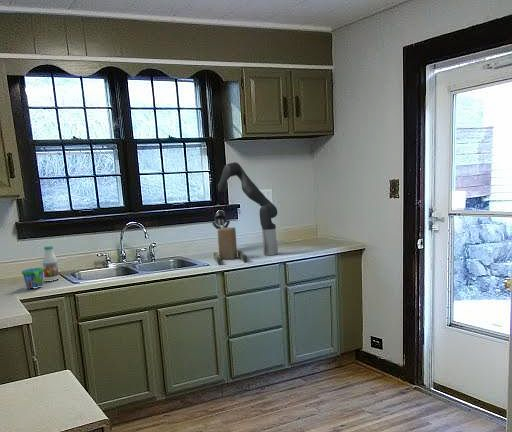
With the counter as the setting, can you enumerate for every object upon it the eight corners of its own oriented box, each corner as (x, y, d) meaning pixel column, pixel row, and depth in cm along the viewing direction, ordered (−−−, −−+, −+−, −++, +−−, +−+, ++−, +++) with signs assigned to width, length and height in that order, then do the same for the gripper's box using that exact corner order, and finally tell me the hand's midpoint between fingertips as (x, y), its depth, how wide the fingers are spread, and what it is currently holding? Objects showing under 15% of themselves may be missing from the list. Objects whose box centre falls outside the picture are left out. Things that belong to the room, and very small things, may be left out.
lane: (240, 255, 312) (240, 250, 312) (247, 262, 287) (247, 256, 287) (214, 258, 309) (213, 252, 309) (218, 265, 284) (218, 258, 283)
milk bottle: (42, 281, 268) (38, 247, 266) (55, 278, 273) (51, 245, 272) (48, 282, 263) (45, 247, 261) (61, 279, 268) (58, 245, 267)
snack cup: (21, 287, 254) (19, 269, 253) (42, 284, 260) (40, 266, 259) (26, 292, 241) (24, 273, 240) (48, 288, 247) (46, 269, 246)
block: (233, 259, 300) (231, 228, 298) (219, 260, 302) (216, 229, 300) (237, 256, 310) (235, 227, 308) (223, 257, 312) (221, 227, 310)
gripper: (210, 211, 333) (213, 229, 322) (228, 209, 335) (232, 228, 324) (209, 218, 338) (212, 236, 327) (228, 216, 341) (231, 235, 330)
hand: (222, 232), depth 326 cm, fingers closed
